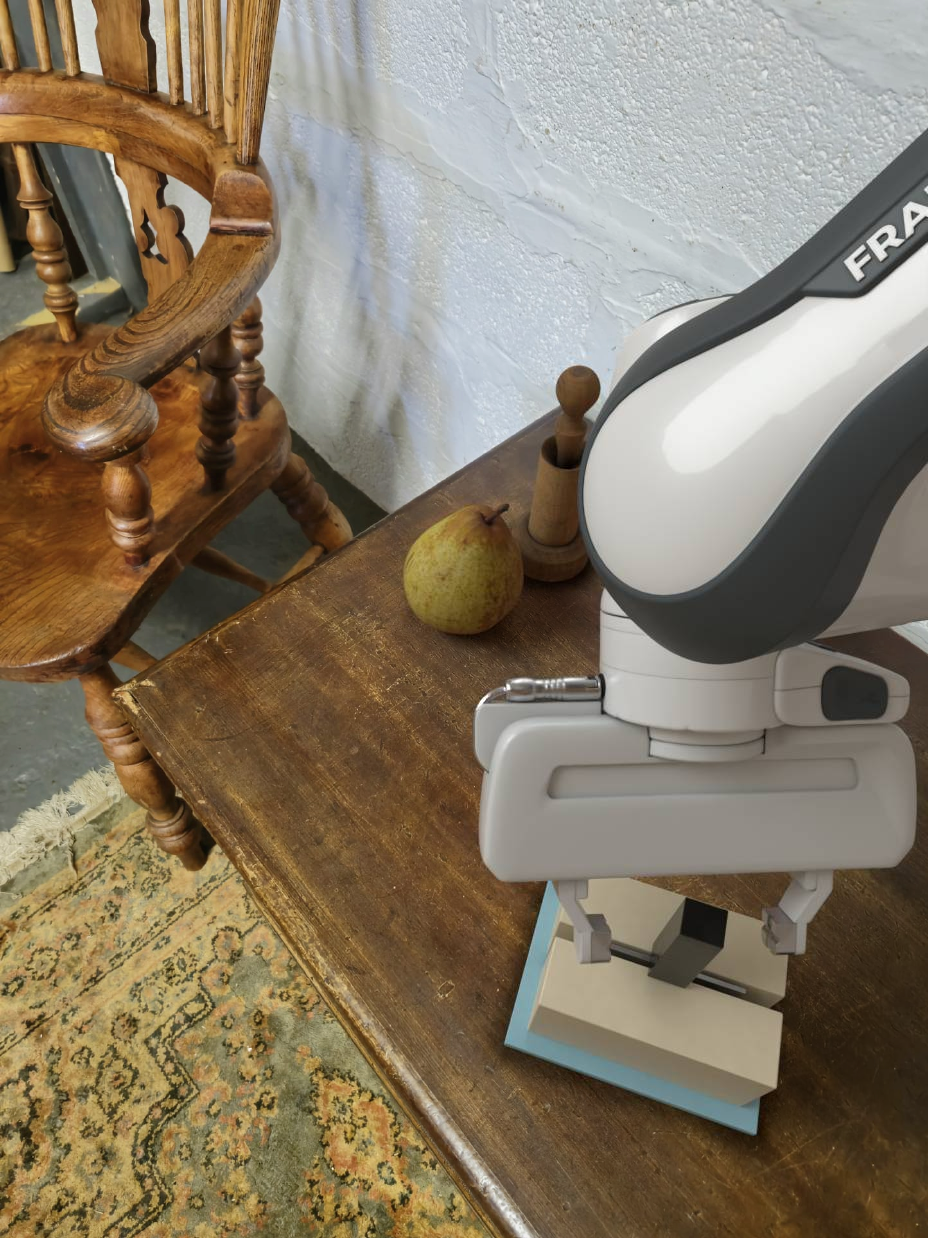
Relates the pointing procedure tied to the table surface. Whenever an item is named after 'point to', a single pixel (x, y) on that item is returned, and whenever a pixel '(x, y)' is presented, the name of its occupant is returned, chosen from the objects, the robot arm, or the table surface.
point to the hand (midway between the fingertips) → (688, 953)
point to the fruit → (464, 571)
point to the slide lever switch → (653, 1008)
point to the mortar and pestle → (559, 487)
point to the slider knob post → (686, 948)
